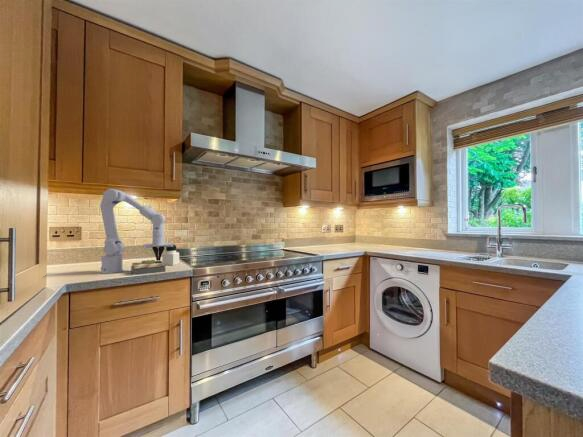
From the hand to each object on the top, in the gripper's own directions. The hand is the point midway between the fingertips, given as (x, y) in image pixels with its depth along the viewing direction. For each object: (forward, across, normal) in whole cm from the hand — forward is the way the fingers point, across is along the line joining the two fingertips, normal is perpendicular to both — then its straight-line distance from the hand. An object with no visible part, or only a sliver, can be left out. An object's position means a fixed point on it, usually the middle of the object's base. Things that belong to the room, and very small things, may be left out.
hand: (158, 260), depth 143 cm
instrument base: (+5, -5, 0) cm, 7 cm away
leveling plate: (+2, -5, 0) cm, 5 cm away
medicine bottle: (+6, +9, +15) cm, 18 cm away
